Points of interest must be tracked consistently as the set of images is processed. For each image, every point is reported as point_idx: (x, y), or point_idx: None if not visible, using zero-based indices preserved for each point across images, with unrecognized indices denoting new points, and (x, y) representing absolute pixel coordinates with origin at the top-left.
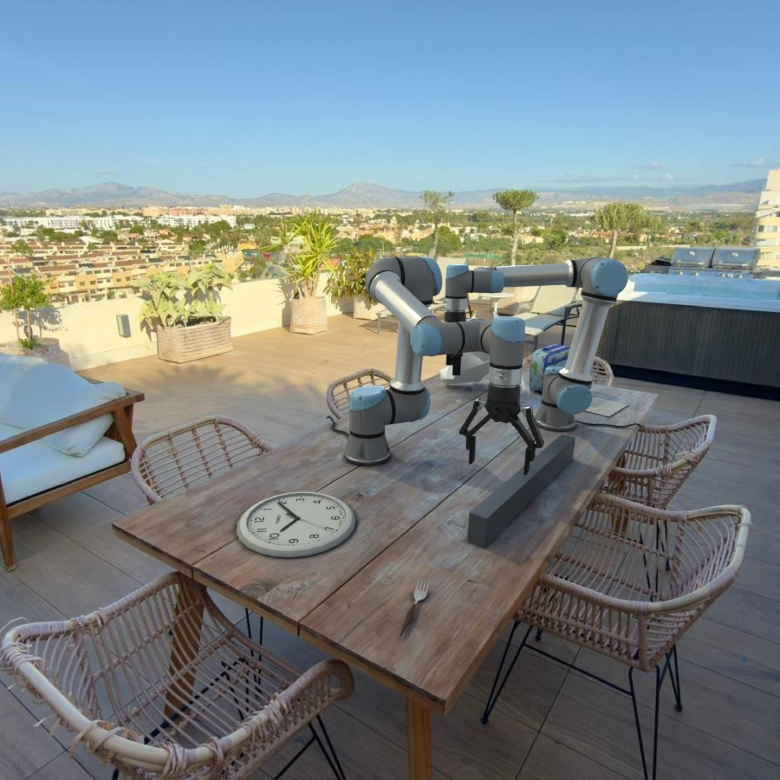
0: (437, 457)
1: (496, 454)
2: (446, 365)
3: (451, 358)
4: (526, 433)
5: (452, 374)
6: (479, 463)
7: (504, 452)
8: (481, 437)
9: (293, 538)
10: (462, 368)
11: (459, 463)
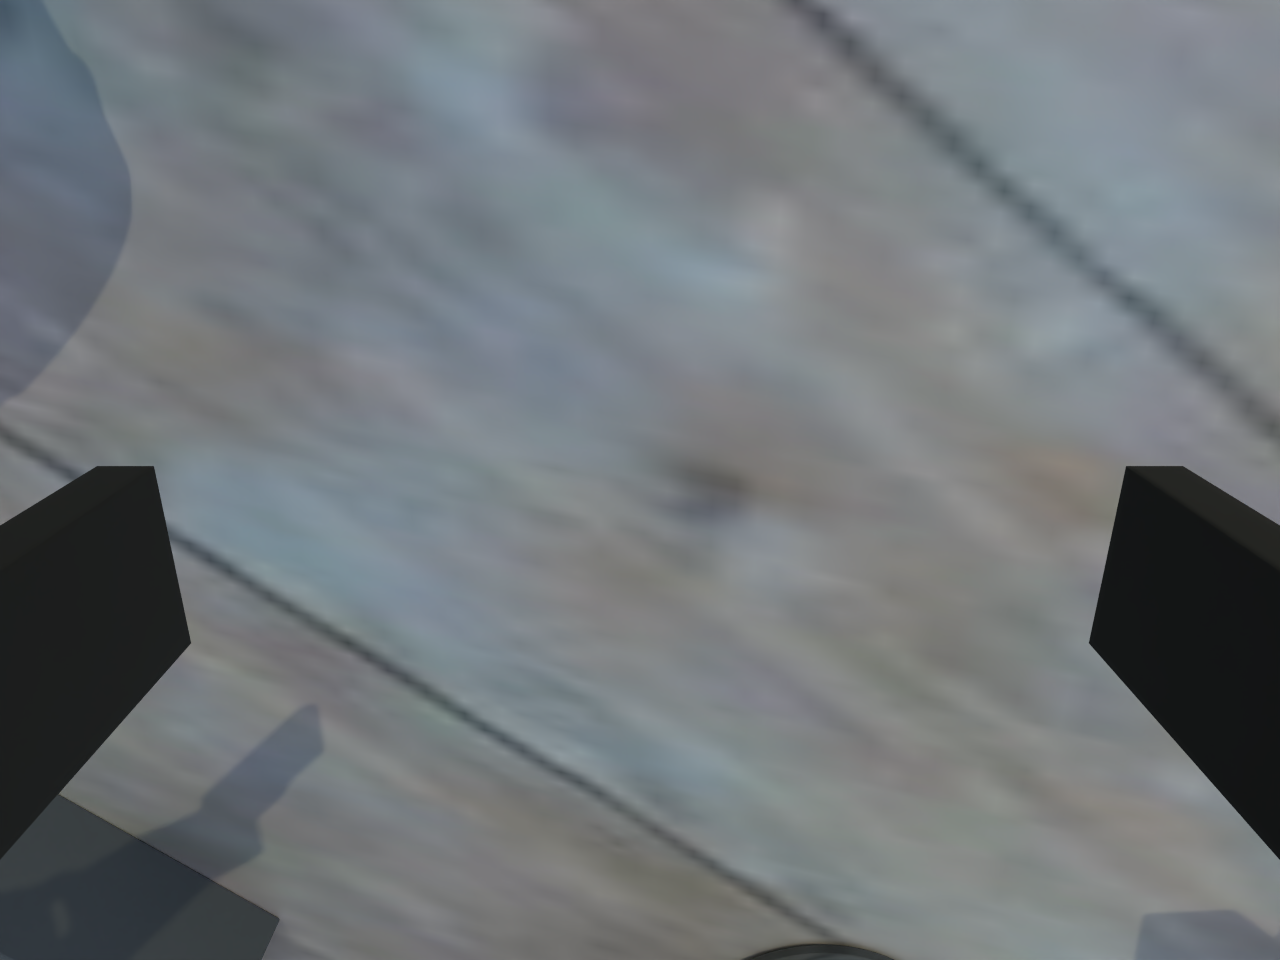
0: (101, 71)
1: (246, 569)
2: (1125, 477)
3: (1211, 705)
4: None
5: (97, 474)
6: (53, 412)
7: (291, 630)
8: (577, 535)
9: None
10: None
11: (17, 253)
